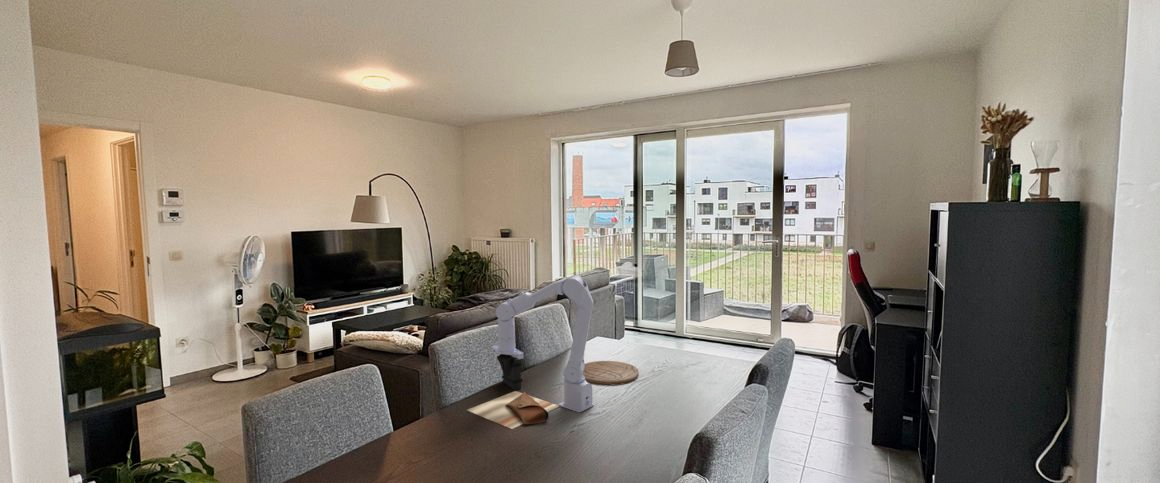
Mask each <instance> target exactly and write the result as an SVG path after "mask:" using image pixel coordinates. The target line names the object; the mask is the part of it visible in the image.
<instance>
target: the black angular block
mask: <svg viewBox="0 0 1160 483" xmlns="http://www.w3.org/2000/svg"><path fill="white" fill-rule="evenodd" d="M515 349H517V350H518V346H515ZM521 367H522V363H521V362H520V359H518V358H516V360H515V362H514V365H513V367H512V371H511V375H510V376H507V377H506V376H504V374H503V373H502V375H501V378H502V381H503V383H504V384H506V385H507V386H508V387H510V388H511V389H513V391H517V390H520V389H521V388H522V382H523V378H522V374H521ZM500 369H501V370H502V367H501V366H500Z"/></svg>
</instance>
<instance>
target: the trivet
mask: <svg viewBox="0 0 1160 483" xmlns="http://www.w3.org/2000/svg"><path fill="white" fill-rule="evenodd" d="M639 372H640V370H639V369H638V368H637V367H636V366H635V365H633V364H630V363H628V362H627V363H626V362H622V361H617V360H616V361H615V360H599V361H597V360H596V361H591V362H590V361H589V362H586V363H585V369H584V371H583V373H582V374H583V375H584V377H585V380H586V382H588V383H589V384H595V385H601V386H612V385H611V384H618V385H622V384H621V383H625V384H628V383H627V382H629V383H631V381H632V382H633V380H634V381H636V380H637V379H638V378H639V375H640V374H639ZM637 377H638V378H637ZM636 378H637V379H636Z"/></svg>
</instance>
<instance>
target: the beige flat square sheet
mask: <svg viewBox="0 0 1160 483" xmlns="http://www.w3.org/2000/svg"><path fill="white" fill-rule="evenodd" d="M523 393H524V392H523ZM523 393H522V392H520V391H517V390H513V391H512V392H509V393H506V394H504V395H502V396H499V397H496V398H494V399H491V400H489V401H486V402H484V403H481V404H478V405H475V406H474V407H470V408H468V409H466V411H467V412H469V413H471V414H474V415H476V416H478V417H481V418H484V419H486V420H487V421H491V422H493V423H496V424H498V425H500V426H502V427H505V428H507V429H509V430H513V429H515V428H518V427H520V426H522V425H525V424H524V423H523V422H522V421H521V420H520V419H519V418H518V417H517V415H516V414H515V413H514V412H513V411H512V410H511V409H509V408H508V407H507V406H505V405H507V404H508V403H510V402H511V401H513V400H514V399H515V398H517V397H518V396H520V395H521V394H523ZM529 396H530V397H531V398H533V399H534V400H535V401H536V402H537V403H538V404H540V405H541V406H542V407H543V408H544V409H545V410H546V411H547V412H548V413H550V412H553V411H554V410H556V409H559V408H560V407H561V406H559V404H556V403H555V404H554V403H552V402H549V401H546V400H543V399H540V398H538V397H535V396H531V395H529Z"/></svg>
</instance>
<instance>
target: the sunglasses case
mask: <svg viewBox="0 0 1160 483" xmlns="http://www.w3.org/2000/svg"><path fill="white" fill-rule="evenodd" d="M530 396H531V395H529V394H528V393H526V392H525V391H523V394H521V395H520V396H518V397H517V398H515V399H514V400H513V401H511V402H510V403H508V404H507V405H505V406H507V407H508V408H509V409H511V410H512V411H513V412H514V413H515V414H516V415H517V417H518V418H519V419H520V420H521V421H522V422H523V423H524V424H523V425H535V424H536V425H537V424H540V423H544V422H547V421H548V419H549V418H550V416H549V412H547V411H546V410H545V409H544V408H543V407H542V406H541V405H540V404H538V403H537V402H536V401H535V400H534V399H533V398H531V397H530Z"/></svg>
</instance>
